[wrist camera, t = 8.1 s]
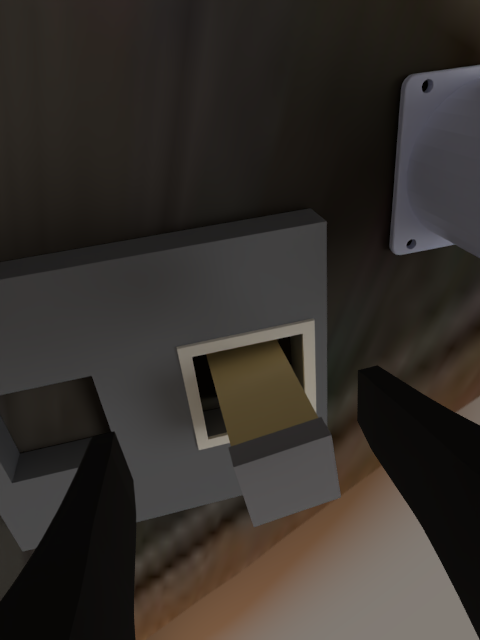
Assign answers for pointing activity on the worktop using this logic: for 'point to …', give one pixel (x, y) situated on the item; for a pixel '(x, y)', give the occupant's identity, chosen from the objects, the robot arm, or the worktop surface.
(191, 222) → the worktop surface
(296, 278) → the socket panel
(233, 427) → the plug
